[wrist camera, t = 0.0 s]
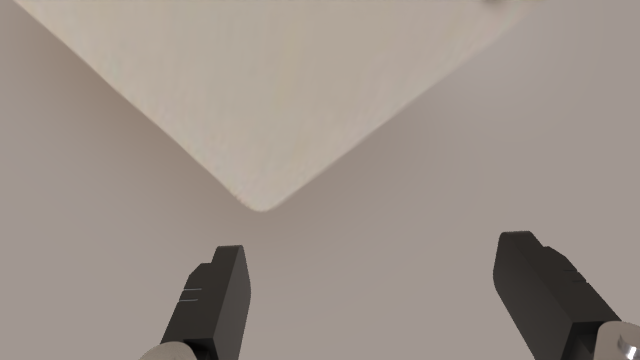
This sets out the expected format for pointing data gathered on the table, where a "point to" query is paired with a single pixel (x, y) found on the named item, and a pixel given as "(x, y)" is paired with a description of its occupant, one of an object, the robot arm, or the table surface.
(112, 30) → the table surface
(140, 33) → the table surface
